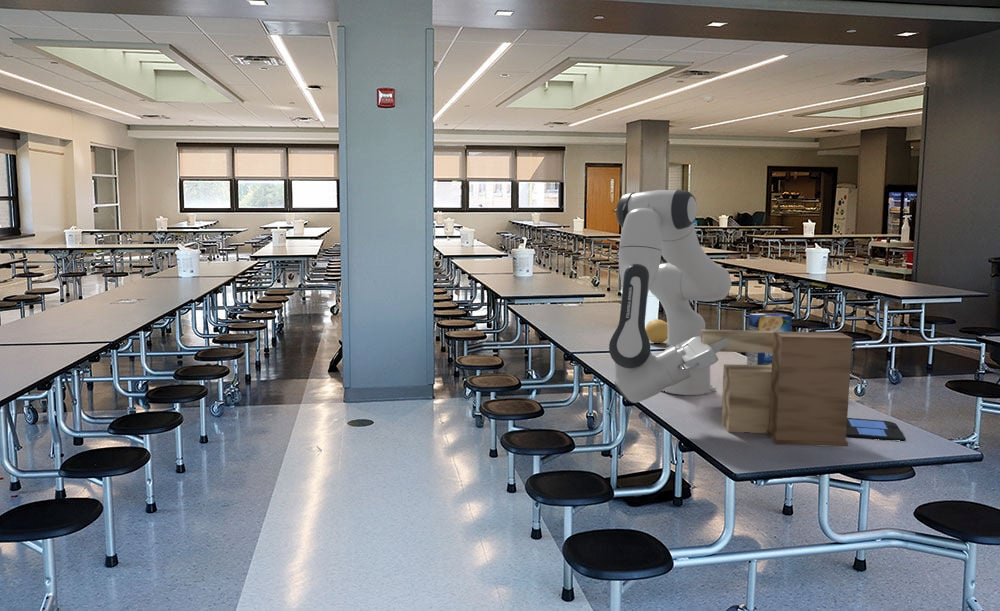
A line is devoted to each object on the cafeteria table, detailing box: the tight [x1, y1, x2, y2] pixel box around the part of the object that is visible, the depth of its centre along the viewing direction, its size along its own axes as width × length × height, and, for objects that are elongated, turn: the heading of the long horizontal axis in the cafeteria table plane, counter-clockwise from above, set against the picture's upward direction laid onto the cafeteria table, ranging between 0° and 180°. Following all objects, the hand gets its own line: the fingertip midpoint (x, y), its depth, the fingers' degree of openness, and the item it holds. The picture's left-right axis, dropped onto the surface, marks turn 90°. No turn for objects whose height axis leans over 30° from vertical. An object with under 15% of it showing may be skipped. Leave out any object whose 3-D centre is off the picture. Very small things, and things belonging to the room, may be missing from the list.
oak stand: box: [721, 363, 772, 434], centre depth 198 cm, size 9×22×17 cm, turn 85°
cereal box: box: [746, 312, 793, 365], centre depth 248 cm, size 7×11×22 cm, turn 100°
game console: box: [846, 417, 907, 442], centre depth 196 cm, size 14×13×2 cm
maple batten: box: [701, 329, 782, 353], centre depth 196 cm, size 4×20×5 cm, turn 85°
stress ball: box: [645, 318, 668, 344], centre depth 317 cm, size 10×10×10 cm
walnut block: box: [765, 331, 853, 448], centre depth 187 cm, size 8×17×26 cm, turn 85°
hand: (725, 338), depth 197 cm, fingers closed on maple batten, 3 cm apart
